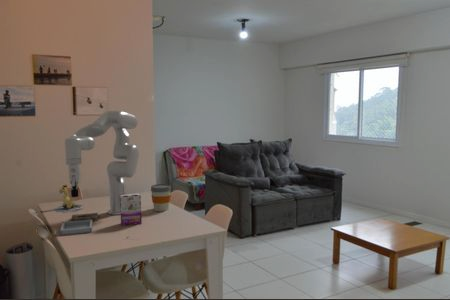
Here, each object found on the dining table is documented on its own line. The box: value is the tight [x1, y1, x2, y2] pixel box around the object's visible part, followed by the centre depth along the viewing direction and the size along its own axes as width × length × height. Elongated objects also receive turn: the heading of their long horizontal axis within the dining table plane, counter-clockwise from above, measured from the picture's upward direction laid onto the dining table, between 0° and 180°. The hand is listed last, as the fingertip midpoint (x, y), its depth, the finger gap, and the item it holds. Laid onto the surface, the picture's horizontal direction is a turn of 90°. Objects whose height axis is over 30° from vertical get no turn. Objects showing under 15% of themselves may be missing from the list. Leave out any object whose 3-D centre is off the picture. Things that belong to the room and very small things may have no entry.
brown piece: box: [70, 212, 99, 222], centre depth 218 cm, size 14×10×2 cm
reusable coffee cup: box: [150, 183, 172, 212], centre depth 239 cm, size 13×13×15 cm
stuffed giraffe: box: [49, 184, 83, 213], centre depth 242 cm, size 16×18×16 cm
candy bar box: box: [120, 192, 143, 226], centre depth 210 cm, size 11×5×16 cm, turn 105°
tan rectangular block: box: [67, 184, 84, 202], centre depth 198 cm, size 6×3×7 cm, turn 107°
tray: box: [59, 220, 94, 236], centre depth 200 cm, size 15×15×2 cm
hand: (75, 195), depth 198 cm, fingers closed on tan rectangular block, 2 cm apart
